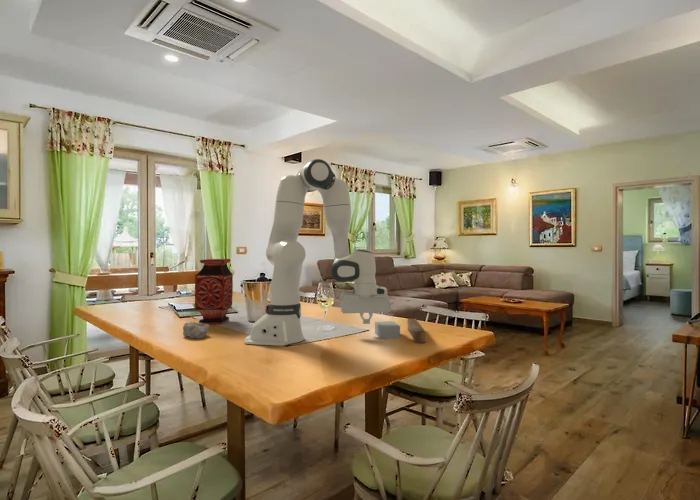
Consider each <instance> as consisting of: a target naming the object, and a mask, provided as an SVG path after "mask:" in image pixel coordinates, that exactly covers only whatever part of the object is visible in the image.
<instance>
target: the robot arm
mask: <svg viewBox="0 0 700 500" xmlns="http://www.w3.org/2000/svg"><path fill="white" fill-rule="evenodd" d="M315 191H317V192H319V194H320V195H321V198H322V207H323V214H324V220H325V222H326V225H327V226H328V228H329V231H330V233H331V235H332V240H333V250H334V252H333V253H334V259H333V262H332V266H331V268H330V275H331V277H332V278H333V279H334V281H336V282H338V283H348V282H352V281H354V282H353V283H354V284H353V285H354V289H349V290H346V289H345V290H343V291H341V292H340V293H339V299H340V300H339V301H341V305H340V306H341V307H340V312H341V313H342V314H343V315H344V314H359V316H360V318H361V320H362V325H370V324H371V319H372V317H373V313H390V312H391V311H392V304H391V303H392V302H391V299H390V297H389V295H388V288H387V287H385V286H382V285H377V280H376V274H377V273H376V271H377V268H376V266H377V265H376V264H377V263H376V257H375V255H374V254H373V252H372V251H370V250H366V249H355V250H354V251H353V252H352V253H350V247H349V245H350V244H349V228H350V225H351V219H352V206H351V198H350V193H349V188H348V186H347V183H346V182H345V180H343V179H341V178H338V177H337V178H336V174H335V173H334V172H333V170H332V168H331V166H330V164H329V163H328V162H327V161H325V160H323V159H312V160H310V161H308V162H307V163H305V164H304V165H303V166H302V167H301V169H300V170H299V171H298V173H297V174H296V175H294V174H292V175H291V174H289V175H285V176H282V178H281V179H280V181H279V183H278V189H277V193H276V197H275V205H274V207H275V208H274V213H273V215H274V216H273V223H272V226H271V227H272V228H271V231H270V234H269V239H268V245H267V247H266V248H265V249H266V250H265V256H266V259H267V261H268V263H270V264H272V266H273V273H272V276H271V277H272V278H271V282H270V302H269V303H267V304H266V306H265V307H264V308H265V314H264V315H262V316H261V317H260V318H259V319H258V320H256V321H255V322H254V323H253V324H252V326H251V330H250V334H249V335H247V336H246V337H244V344H246V345H261V346H262V345H263V346H282V347H283V346H286V345H289V344H291V345H292V344H296V343H299V342H301V341H304V340H305V337H304V334H303V330H302V324H301V315H302V306H301V303H300V284H301V283H300V282H301V275H302V271H303V263H304V261H305V260H306V256H307V255H306V250H305V247H304V246H303V245H302V244H301V243H300V242H298V237H299V234H300V231H301V229H302V226H303V220H304V212H305V211H304V210H305V202H306V201H305V200H306V196H307V193H311V192H312V193H313V192H315ZM364 314H368V318H365V317H364Z"/></svg>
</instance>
